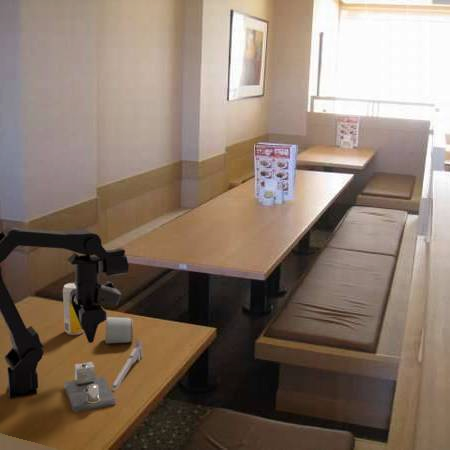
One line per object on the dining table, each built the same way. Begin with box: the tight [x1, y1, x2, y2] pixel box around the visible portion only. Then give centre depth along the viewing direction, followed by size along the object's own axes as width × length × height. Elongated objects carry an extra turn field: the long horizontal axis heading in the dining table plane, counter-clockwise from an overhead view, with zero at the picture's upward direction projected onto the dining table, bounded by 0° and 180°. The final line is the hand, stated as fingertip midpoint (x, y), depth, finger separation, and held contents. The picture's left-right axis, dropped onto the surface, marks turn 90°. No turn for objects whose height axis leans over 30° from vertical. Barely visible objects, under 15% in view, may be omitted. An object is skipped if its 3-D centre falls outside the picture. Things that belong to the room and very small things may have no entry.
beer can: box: [62, 282, 84, 336], centre depth 196 cm, size 6×6×15 cm
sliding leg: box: [74, 361, 96, 384], centre depth 162 cm, size 4×3×4 cm
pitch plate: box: [63, 375, 116, 413], centre depth 158 cm, size 10×13×5 cm
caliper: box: [110, 338, 143, 392], centre depth 170 cm, size 20×1×6 cm, turn 167°
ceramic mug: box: [105, 316, 134, 344], centre depth 191 cm, size 11×8×8 cm
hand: (87, 335), depth 167 cm, fingers open, 9 cm apart
